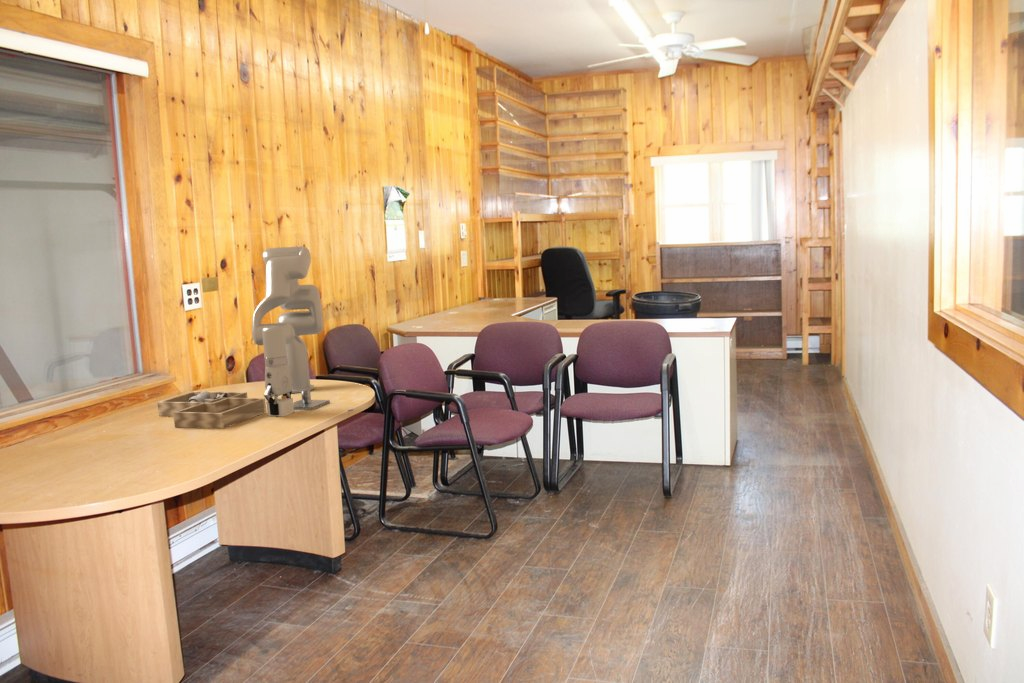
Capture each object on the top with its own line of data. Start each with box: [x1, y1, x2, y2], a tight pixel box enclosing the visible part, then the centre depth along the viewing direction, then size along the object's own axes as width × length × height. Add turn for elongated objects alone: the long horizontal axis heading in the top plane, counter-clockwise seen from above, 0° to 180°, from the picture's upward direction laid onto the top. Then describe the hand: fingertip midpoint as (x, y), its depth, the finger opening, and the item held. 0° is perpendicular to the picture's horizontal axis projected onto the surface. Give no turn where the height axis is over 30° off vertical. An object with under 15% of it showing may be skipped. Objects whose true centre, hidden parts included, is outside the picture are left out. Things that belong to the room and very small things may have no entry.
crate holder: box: [157, 391, 248, 417], centre depth 302 cm, size 24×19×5 cm
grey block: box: [265, 395, 295, 417], centre depth 289 cm, size 6×7×6 cm
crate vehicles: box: [173, 397, 267, 430], centre depth 286 cm, size 19×24×5 cm
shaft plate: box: [293, 390, 331, 411], centre depth 301 cm, size 12×12×6 cm
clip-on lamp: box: [188, 390, 227, 403], centre depth 302 cm, size 12×6×18 cm
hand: (280, 412), depth 290 cm, fingers closed on grey block, 6 cm apart
